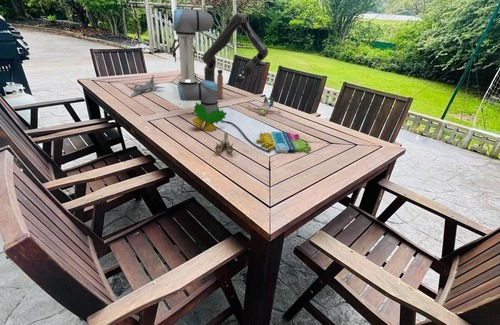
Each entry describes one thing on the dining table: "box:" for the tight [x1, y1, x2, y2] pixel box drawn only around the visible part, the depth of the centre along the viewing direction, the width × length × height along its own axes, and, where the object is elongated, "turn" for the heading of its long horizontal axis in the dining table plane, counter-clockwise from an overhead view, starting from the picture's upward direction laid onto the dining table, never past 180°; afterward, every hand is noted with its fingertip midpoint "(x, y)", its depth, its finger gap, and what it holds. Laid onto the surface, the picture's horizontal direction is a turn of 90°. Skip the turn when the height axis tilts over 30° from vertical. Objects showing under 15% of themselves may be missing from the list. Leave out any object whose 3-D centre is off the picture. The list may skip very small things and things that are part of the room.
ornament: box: [191, 101, 228, 132], centre depth 162 cm, size 21×8×15 cm, turn 105°
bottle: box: [216, 72, 224, 100], centre depth 219 cm, size 4×4×23 cm
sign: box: [256, 131, 312, 154], centre depth 152 cm, size 26×2×30 cm
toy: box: [246, 95, 283, 116], centre depth 203 cm, size 28×7×30 cm
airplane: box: [130, 74, 165, 97], centre depth 228 cm, size 38×32×10 cm
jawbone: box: [214, 131, 234, 156], centre depth 136 cm, size 9×15×10 cm
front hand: (184, 61), depth 211 cm, fingers open, 13 cm apart
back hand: (237, 82), depth 224 cm, fingers open, 8 cm apart
